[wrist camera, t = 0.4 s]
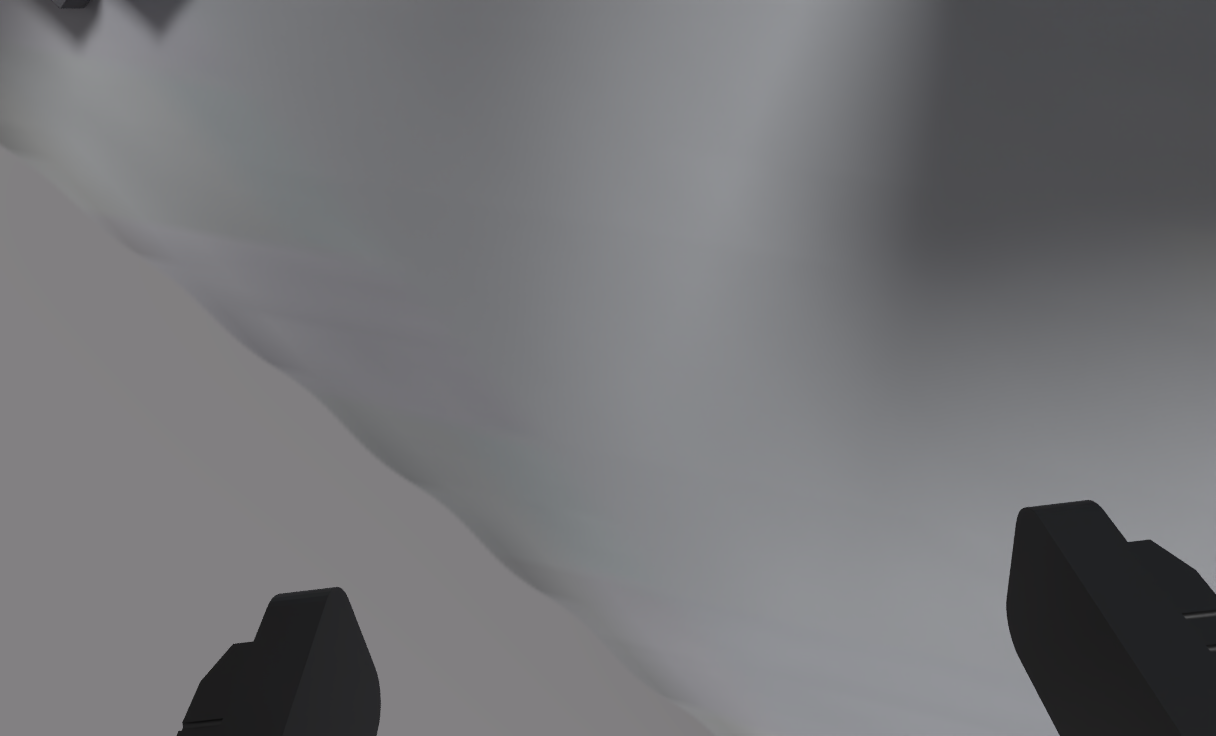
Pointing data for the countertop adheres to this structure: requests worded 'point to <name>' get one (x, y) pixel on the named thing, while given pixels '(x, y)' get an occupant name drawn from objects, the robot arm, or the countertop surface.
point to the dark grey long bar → (71, 3)
